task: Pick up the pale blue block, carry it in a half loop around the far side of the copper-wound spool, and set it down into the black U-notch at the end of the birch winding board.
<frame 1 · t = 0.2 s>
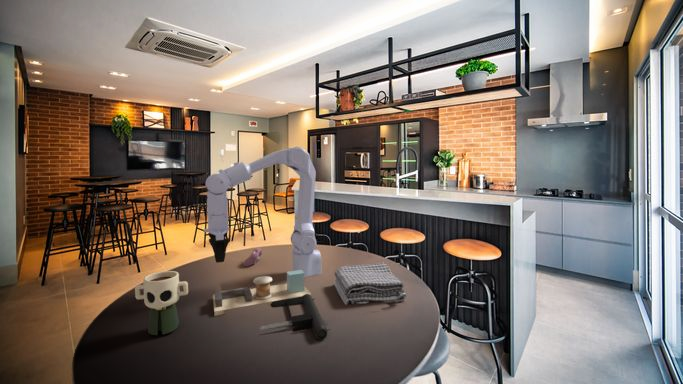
hand: (219, 258, 94), 10 cm above the table, tool pointing down, fingers open, 7 cm apart
door handle: (291, 324, 77), on the table
pink piece: (254, 263, 122), on the table
winding board: (262, 298, 90), on the table
character mug: (164, 331, 72), on the table
pale blue block: (295, 290, 92), point 1 cm above the table, touching winding board
towel: (368, 296, 92), on the table
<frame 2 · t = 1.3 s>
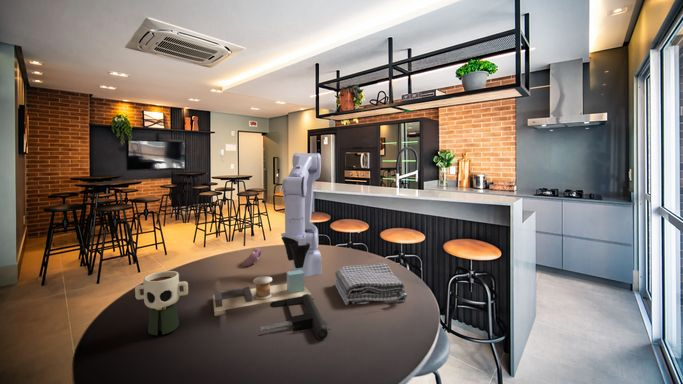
hand: (295, 263, 92), 9 cm above the table, tool pointing down, fingers open, 7 cm apart
nothing on the table moved.
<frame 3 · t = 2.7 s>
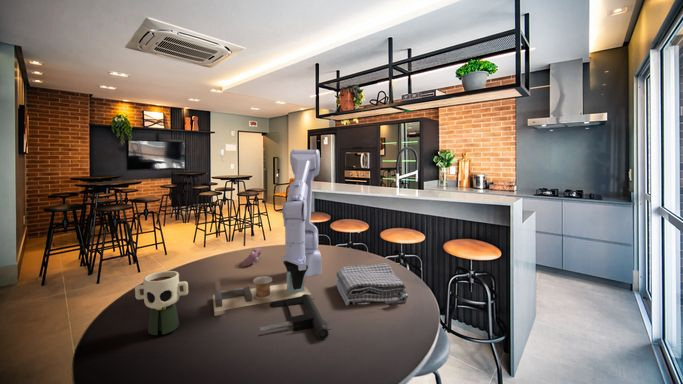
hand: (295, 286, 92), 2 cm above the table, tool pointing down, fingers closed on pale blue block, 3 cm apart
pale blue block: (295, 290, 92), point 1 cm above the table, touching gripper, winding board
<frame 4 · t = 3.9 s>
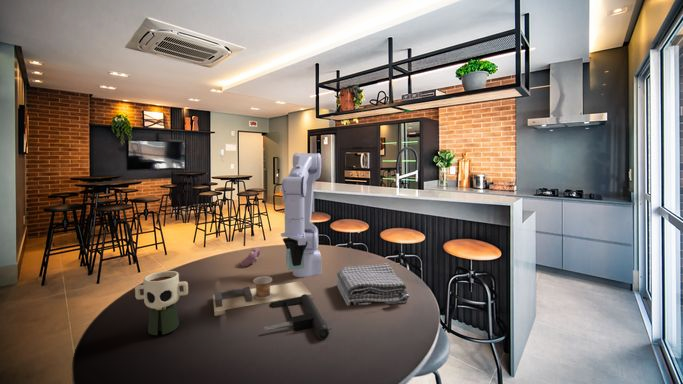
hand: (295, 263, 92), 9 cm above the table, tool pointing down, fingers closed on pale blue block, 3 cm apart
pale blue block: (295, 267, 92), point 8 cm above the table, touching gripper
everything else where it was.
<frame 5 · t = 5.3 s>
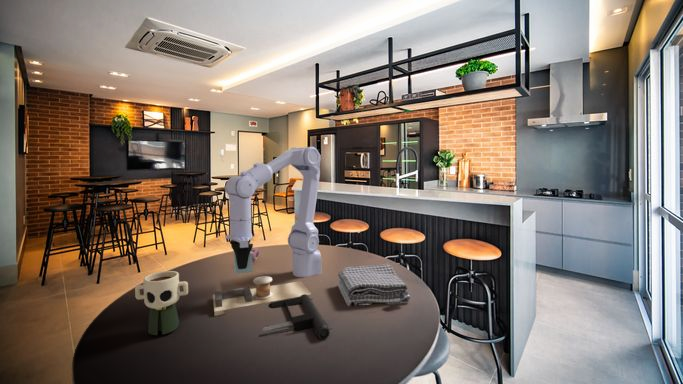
hand: (241, 266, 88), 10 cm above the table, tool pointing down, fingers closed on pale blue block, 3 cm apart
pale blue block: (243, 271, 89), point 8 cm above the table, touching gripper
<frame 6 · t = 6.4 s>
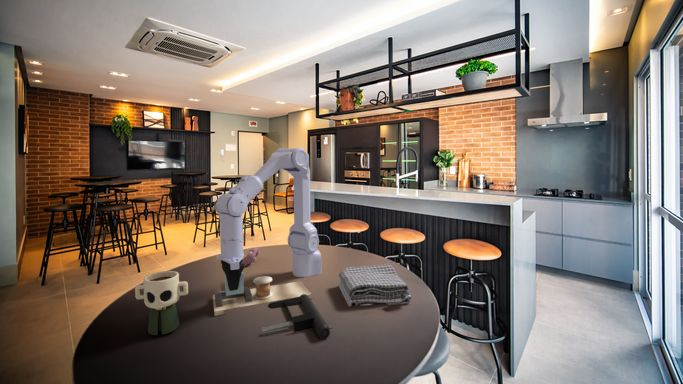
hand: (233, 287, 85), 5 cm above the table, tool pointing down, fingers closed on pale blue block, 3 cm apart
pale blue block: (234, 292, 85), point 4 cm above the table, touching gripper
when the fingers open (4 cm above the table, at t = 7.0 s): pale blue block drops 1 cm, resting on winding board.
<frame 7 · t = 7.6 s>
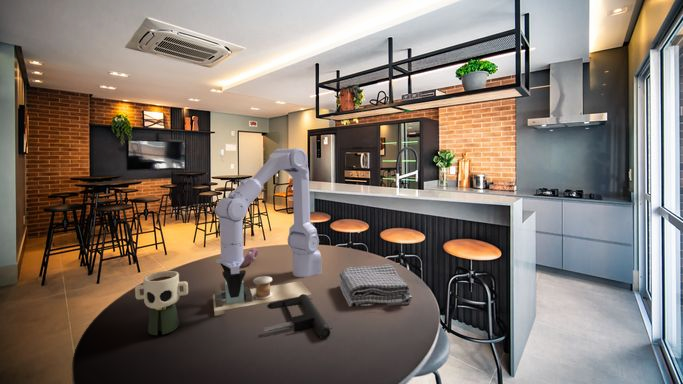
hand: (233, 291, 85), 4 cm above the table, tool pointing down, fingers open, 7 cm apart
pale blue block: (234, 300, 85), point 1 cm above the table, touching winding board
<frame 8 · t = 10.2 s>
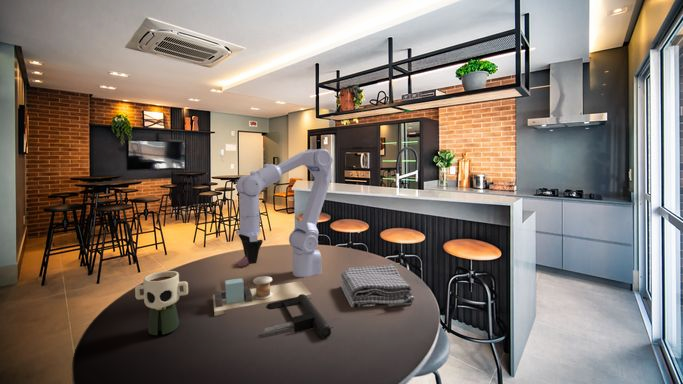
hand: (250, 259, 95), 9 cm above the table, tool pointing down, fingers open, 7 cm apart
at the end: pale blue block 0.6 cm from the target spot on the winding board, point 1.2 cm above the winding board's base; pale blue block tilted 0°; the gripper is holding nothing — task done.
